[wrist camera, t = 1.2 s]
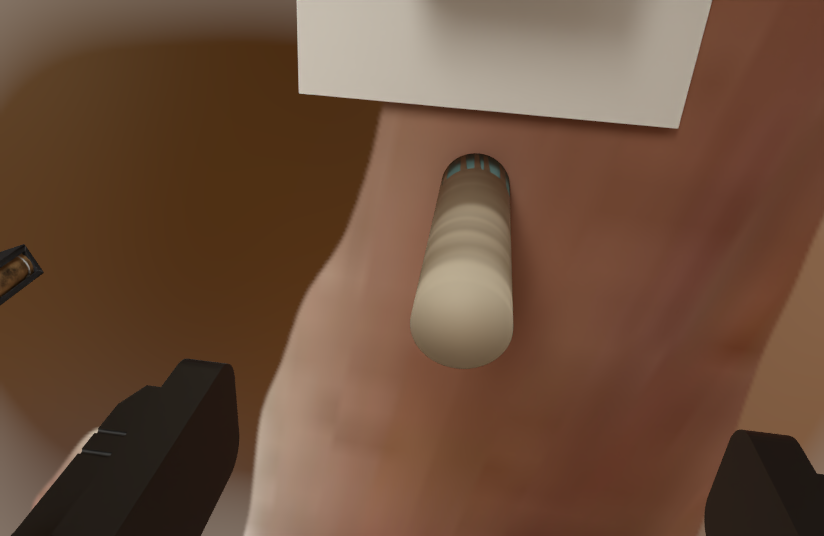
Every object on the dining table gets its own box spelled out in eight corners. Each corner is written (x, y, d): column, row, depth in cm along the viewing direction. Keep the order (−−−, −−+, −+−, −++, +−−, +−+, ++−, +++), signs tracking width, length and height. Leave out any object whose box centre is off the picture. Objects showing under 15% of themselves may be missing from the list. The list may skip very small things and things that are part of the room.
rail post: (444, 150, 30) (413, 276, 19) (513, 156, 30) (520, 289, 19) (438, 213, 31) (407, 362, 21) (504, 220, 31) (505, 374, 21)
